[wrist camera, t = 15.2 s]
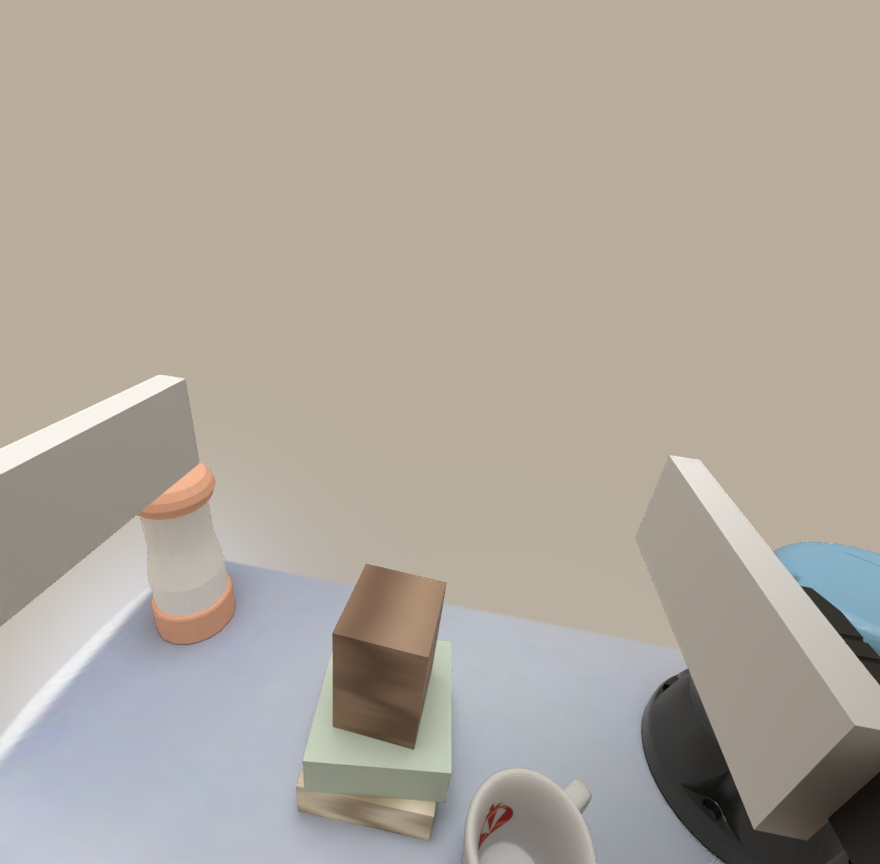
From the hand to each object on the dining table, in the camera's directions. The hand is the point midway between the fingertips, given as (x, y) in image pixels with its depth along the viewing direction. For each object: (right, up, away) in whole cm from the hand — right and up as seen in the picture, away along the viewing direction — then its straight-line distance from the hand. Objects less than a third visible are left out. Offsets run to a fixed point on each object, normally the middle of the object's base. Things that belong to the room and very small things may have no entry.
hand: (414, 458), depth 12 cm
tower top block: (-4, -23, +23) cm, 33 cm away
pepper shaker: (-25, -19, +34) cm, 47 cm away
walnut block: (-3, -20, +21) cm, 29 cm away
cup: (+6, -31, +19) cm, 37 cm away
